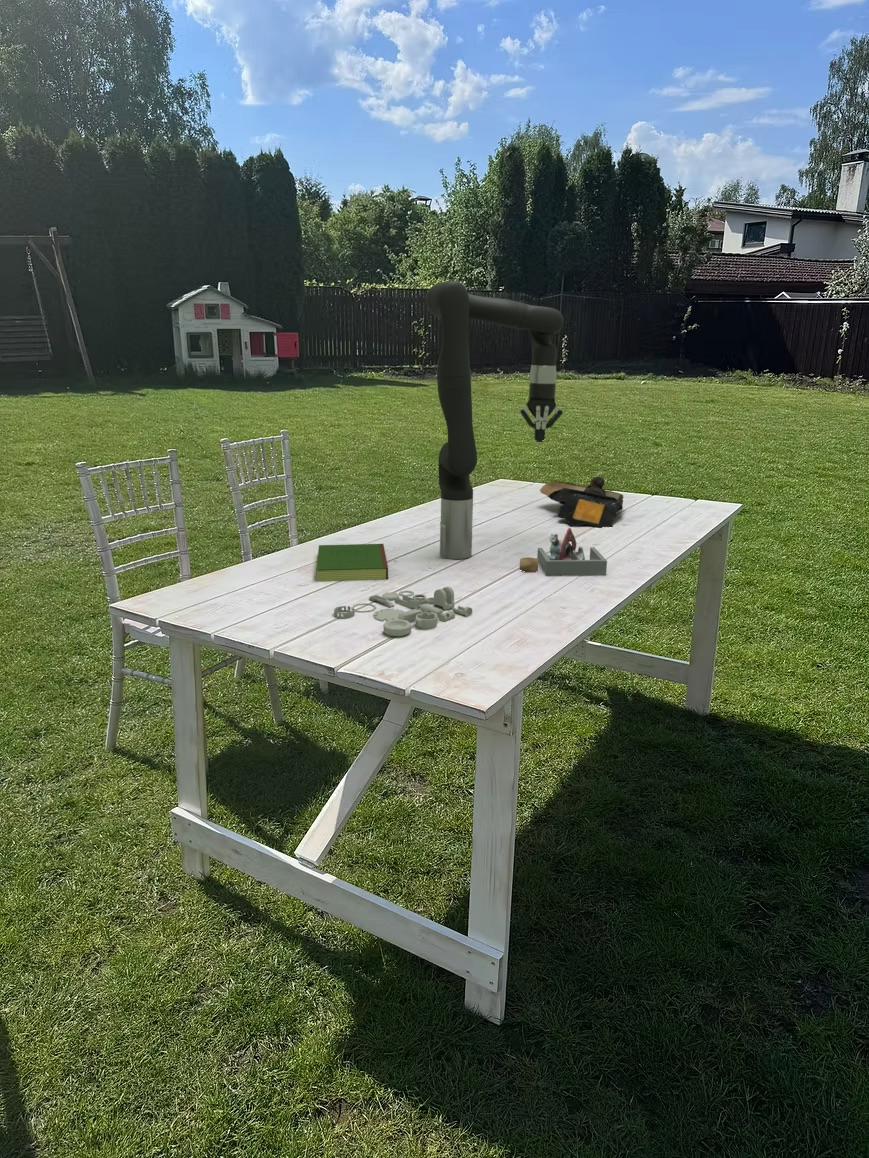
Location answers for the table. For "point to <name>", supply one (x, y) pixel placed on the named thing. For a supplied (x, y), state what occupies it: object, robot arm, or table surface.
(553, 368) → the robot arm
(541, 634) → the table surface
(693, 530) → the table surface
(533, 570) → the tan rounded lump
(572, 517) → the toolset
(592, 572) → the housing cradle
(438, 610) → the robot parts
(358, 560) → the hardcover book
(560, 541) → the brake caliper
